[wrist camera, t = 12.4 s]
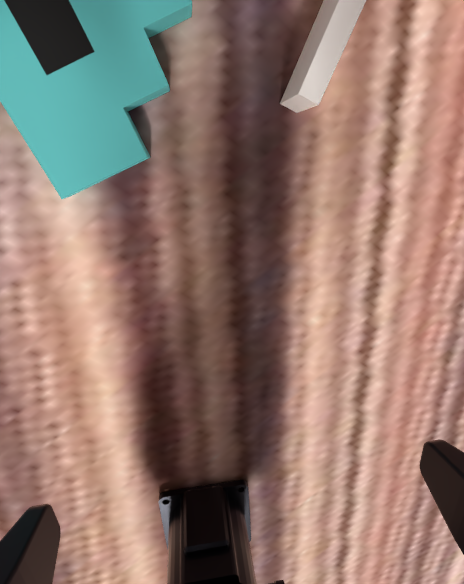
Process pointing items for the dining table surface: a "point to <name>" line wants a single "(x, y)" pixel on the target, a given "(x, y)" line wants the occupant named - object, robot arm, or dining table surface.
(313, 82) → the u-shaped frame
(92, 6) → the alien figure
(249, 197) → the dining table surface
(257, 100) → the dining table surface
